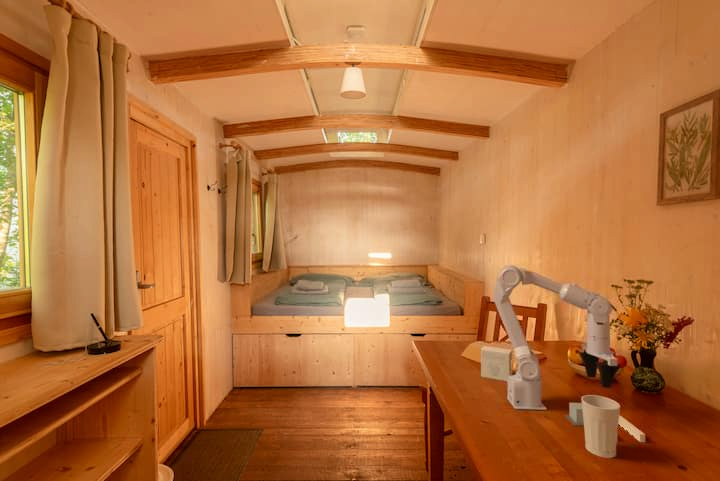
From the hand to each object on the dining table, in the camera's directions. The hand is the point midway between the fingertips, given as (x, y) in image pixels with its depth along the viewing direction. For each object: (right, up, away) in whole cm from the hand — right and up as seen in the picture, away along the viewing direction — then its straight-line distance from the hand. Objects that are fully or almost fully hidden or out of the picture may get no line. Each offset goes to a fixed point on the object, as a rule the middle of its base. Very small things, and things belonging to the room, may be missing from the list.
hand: (598, 381), depth 107 cm
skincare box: (-19, -10, +31) cm, 37 cm away
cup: (-11, -10, -17) cm, 23 cm away
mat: (-8, -10, -3) cm, 13 cm away
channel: (-1, -10, -8) cm, 13 cm away
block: (-7, -10, -3) cm, 13 cm away
